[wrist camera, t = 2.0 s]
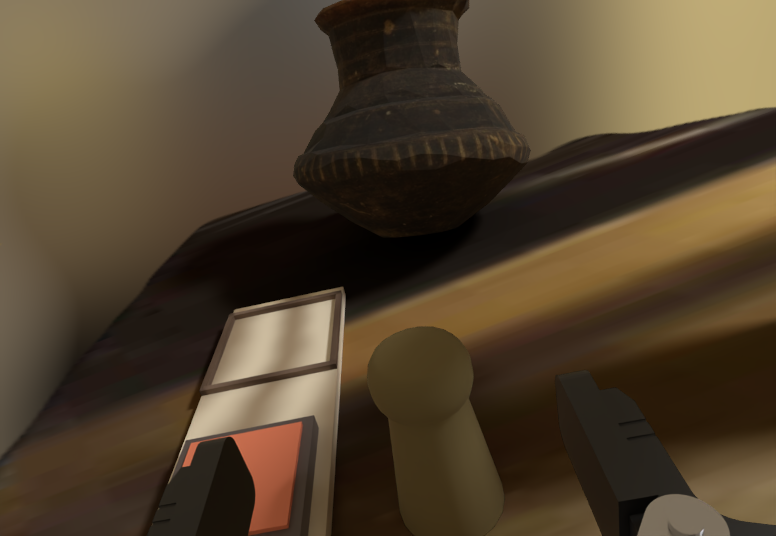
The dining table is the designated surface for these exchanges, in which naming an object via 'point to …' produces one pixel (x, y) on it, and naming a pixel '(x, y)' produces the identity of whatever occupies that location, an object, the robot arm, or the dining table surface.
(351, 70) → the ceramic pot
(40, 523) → the dining table surface
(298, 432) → the ink pad
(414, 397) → the cork
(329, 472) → the stamping board
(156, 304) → the dining table surface
